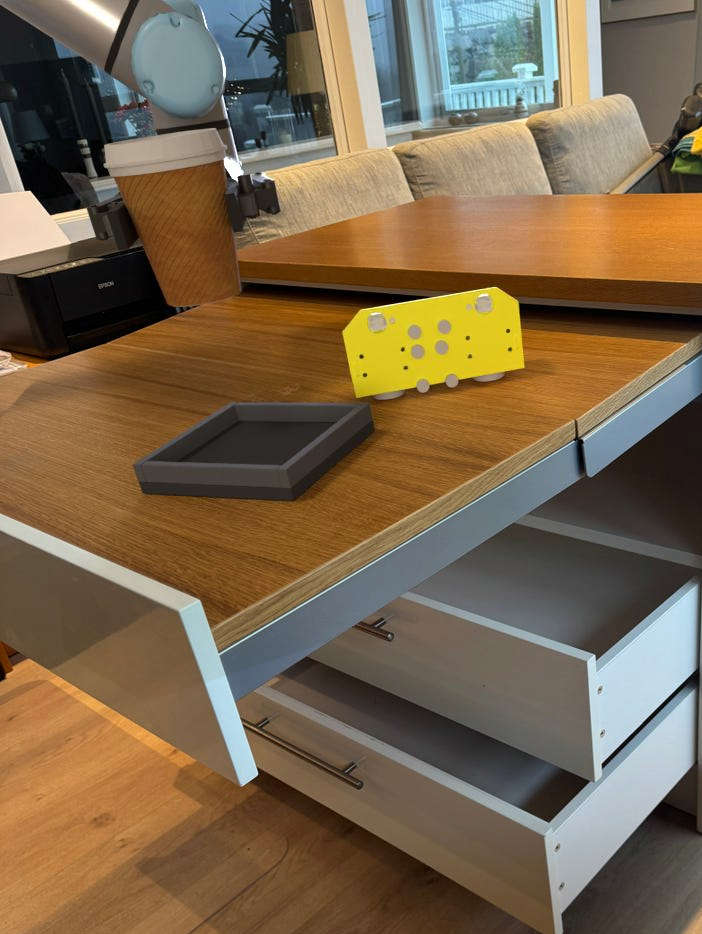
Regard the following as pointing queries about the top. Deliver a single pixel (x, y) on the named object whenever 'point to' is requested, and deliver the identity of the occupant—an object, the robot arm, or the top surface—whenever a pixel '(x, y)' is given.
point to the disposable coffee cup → (180, 212)
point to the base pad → (256, 450)
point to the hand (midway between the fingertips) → (176, 221)
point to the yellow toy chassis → (433, 342)
